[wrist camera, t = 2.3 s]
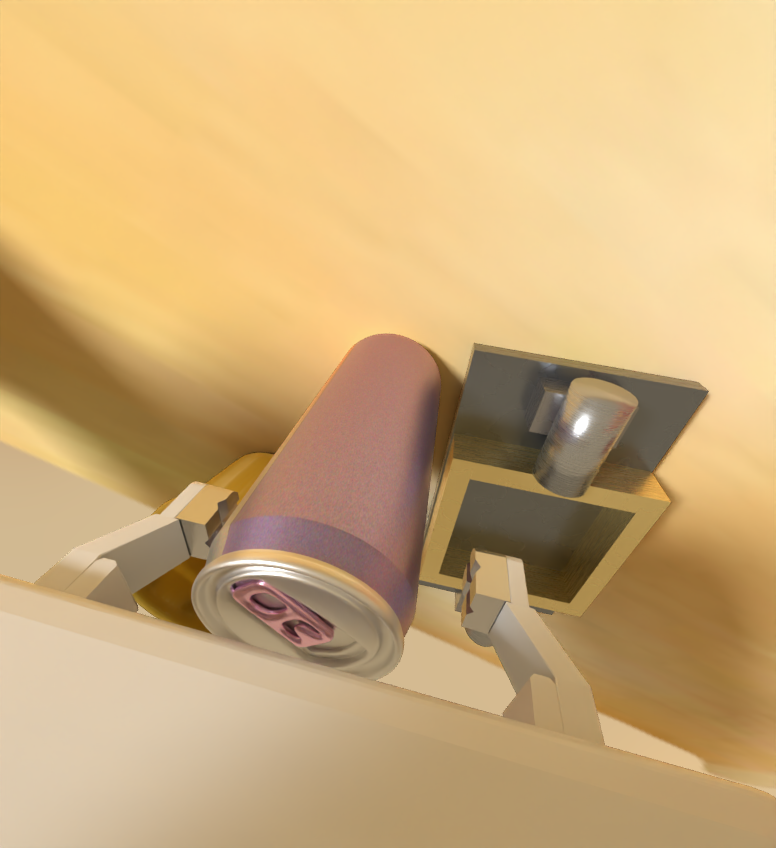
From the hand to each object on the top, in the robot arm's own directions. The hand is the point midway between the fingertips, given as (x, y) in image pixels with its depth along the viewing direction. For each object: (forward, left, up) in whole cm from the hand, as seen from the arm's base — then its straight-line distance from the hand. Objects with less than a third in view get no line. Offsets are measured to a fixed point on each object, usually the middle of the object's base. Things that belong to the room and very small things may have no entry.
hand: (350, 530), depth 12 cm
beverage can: (-1, 0, -12) cm, 12 cm away
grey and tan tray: (+9, -8, -11) cm, 17 cm away
